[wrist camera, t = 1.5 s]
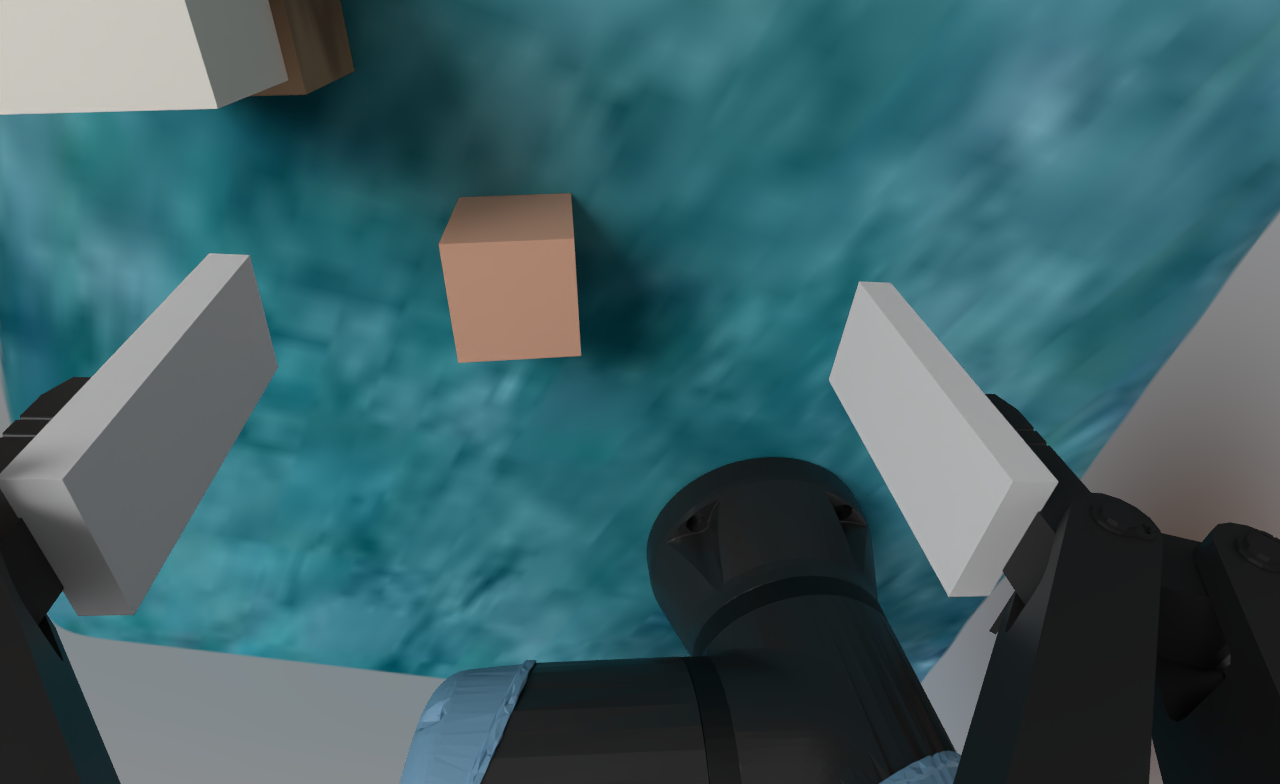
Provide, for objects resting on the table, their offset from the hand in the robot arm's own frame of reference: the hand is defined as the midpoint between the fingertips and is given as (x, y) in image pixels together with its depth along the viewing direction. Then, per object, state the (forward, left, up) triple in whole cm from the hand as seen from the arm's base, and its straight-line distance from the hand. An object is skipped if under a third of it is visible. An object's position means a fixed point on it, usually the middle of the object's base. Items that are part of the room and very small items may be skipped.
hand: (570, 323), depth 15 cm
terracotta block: (-5, +3, -21) cm, 22 cm away
